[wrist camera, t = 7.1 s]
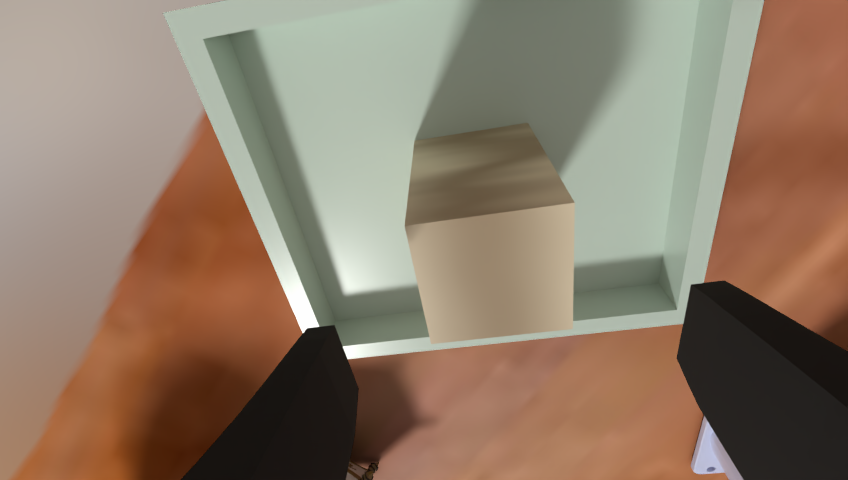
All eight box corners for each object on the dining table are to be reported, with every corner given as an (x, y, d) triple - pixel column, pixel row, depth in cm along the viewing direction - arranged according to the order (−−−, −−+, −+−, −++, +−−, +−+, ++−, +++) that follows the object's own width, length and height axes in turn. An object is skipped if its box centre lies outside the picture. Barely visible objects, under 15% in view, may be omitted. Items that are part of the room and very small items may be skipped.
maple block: (527, 122, 15) (574, 202, 10) (532, 221, 17) (572, 329, 12) (414, 140, 16) (404, 225, 10) (432, 235, 18) (430, 344, 13)
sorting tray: (728, -102, 12) (789, -116, 10) (667, 283, 20) (695, 322, 18) (204, 5, 14) (163, 12, 12) (327, 323, 21) (315, 362, 19)
